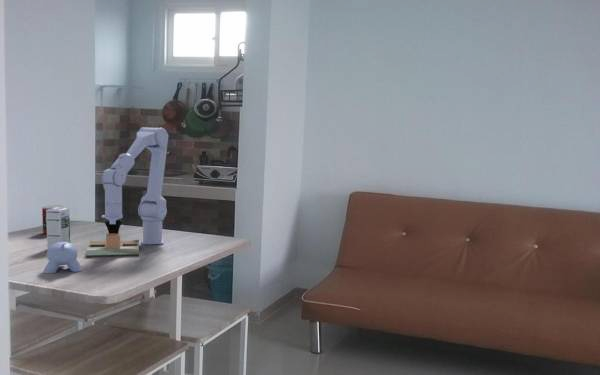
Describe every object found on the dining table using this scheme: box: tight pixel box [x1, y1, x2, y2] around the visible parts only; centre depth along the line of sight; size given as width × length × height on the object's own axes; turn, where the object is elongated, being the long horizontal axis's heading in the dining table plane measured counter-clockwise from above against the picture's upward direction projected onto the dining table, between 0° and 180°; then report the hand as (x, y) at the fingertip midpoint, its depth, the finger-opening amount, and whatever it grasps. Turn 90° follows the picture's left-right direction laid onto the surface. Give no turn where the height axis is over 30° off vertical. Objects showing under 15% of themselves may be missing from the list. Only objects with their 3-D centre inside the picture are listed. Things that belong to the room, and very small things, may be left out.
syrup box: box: [46, 207, 71, 250], centre depth 217 cm, size 6×6×14 cm
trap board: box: [86, 239, 140, 258], centre depth 215 cm, size 16×17×2 cm
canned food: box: [41, 204, 64, 235], centre depth 246 cm, size 8×8×11 cm
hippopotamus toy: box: [43, 242, 83, 275], centre depth 188 cm, size 11×15×10 cm
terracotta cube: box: [105, 232, 121, 249], centre depth 210 cm, size 4×4×4 cm
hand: (113, 241), depth 213 cm, fingers closed
